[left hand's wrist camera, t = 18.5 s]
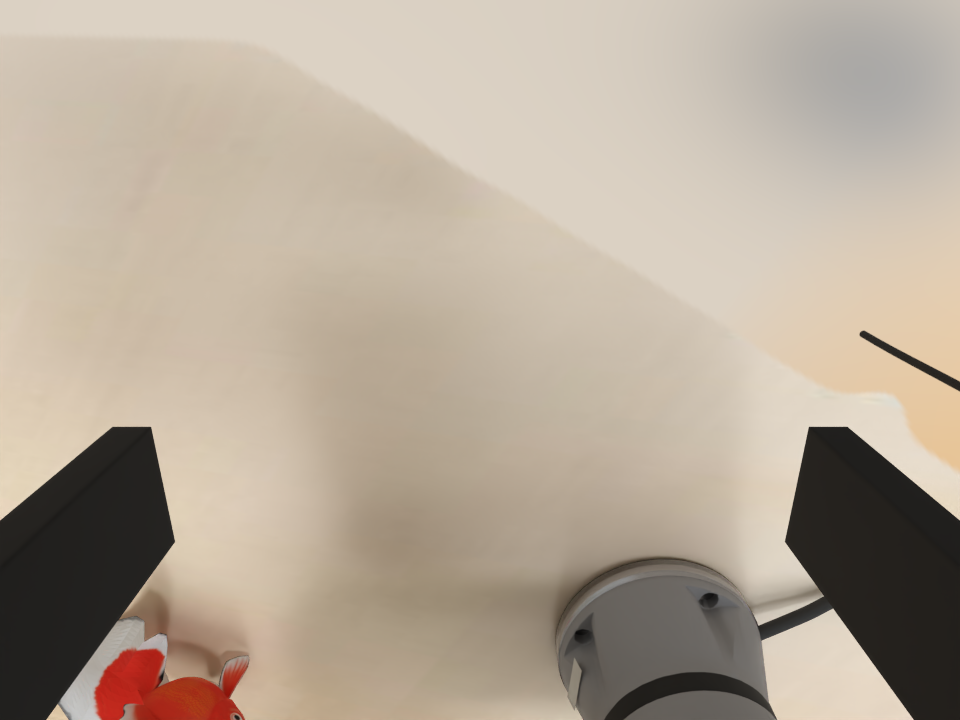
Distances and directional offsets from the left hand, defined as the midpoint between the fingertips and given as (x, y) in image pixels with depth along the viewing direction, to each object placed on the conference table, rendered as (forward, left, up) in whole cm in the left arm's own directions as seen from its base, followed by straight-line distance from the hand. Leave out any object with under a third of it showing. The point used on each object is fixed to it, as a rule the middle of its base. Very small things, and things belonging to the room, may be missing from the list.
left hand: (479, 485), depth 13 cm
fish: (+34, +22, -27) cm, 49 cm away
